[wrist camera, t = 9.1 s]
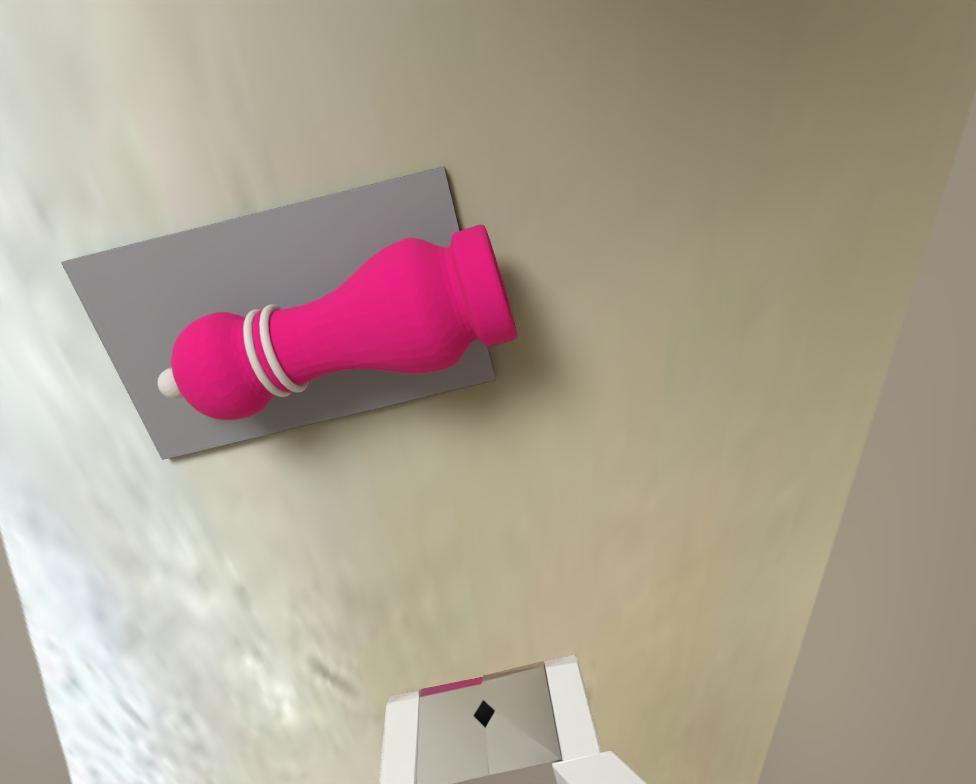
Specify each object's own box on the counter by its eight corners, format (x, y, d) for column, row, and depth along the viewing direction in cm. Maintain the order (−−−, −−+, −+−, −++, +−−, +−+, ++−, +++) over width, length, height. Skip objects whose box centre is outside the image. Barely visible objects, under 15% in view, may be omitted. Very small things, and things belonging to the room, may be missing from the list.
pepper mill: (480, 207, 34) (161, 311, 36) (481, 221, 28) (88, 348, 30) (516, 326, 37) (216, 417, 39) (524, 365, 30) (161, 473, 32)
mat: (443, 166, 34) (443, 166, 33) (494, 376, 39) (495, 379, 39) (67, 260, 34) (61, 262, 34) (166, 455, 40) (162, 459, 39)
